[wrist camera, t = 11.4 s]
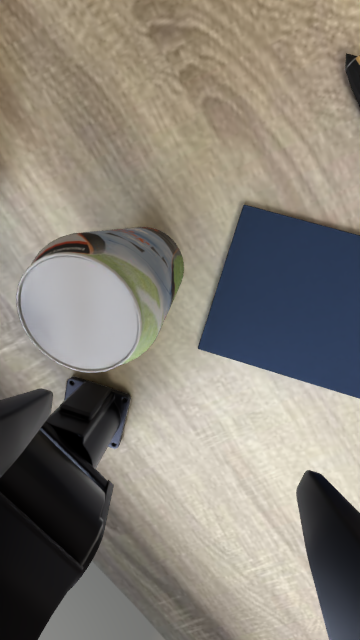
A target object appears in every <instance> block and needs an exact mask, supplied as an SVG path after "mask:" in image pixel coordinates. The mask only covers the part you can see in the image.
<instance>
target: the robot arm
mask: <svg viewBox="0 0 360 640" xmlns="http://www.w3.org/2000/svg"><path fill="white" fill-rule="evenodd" d="M72 381H73V382H74V383H73V382H72ZM124 398H126V399H127V400H124ZM52 399H53V393H52V392H51V391H49V390H46V389H37V390H33V391H30V392H27V393H23V394H20V395H16V396H13V397H10V398H6V399H3V400H0V640H38V638H39V636H40V635H41V633H42V631H43V629H44V628H45V626H46V624H47V623H48V621H49V619H50V617H51V616H52V614H53V613H54V611H55V610H56V608H57V607H58V605H59V604H60V602H61V601H62V599H63V598H64V596H65V595H66V593H67V592H68V591H69V590H70V589H71V588H72V587H73V586H74V585H75V584H76V582H77V581H78V580H79V578H80V577H81V576H82V575H83V573H84V572H85V570H86V569H87V568H88V566H89V564H90V563H91V561H92V559H93V557H94V556H95V554H96V552H97V550H98V548H99V545H100V543H101V540H102V537H103V534H104V530H105V525H106V520H107V515H108V510H109V506H110V501H111V496H112V491H113V486H114V485H113V484H112V483H111V482H110V481H109V480H108V481H107V480H106V479H105V478H104V477H103V476H102V475H101V474H100V473H99V472H98V471H97V470H96V467H97V465H98V463H99V462H100V460H101V458H102V456H103V454H104V453H105V451H106V449H107V447H111V448H114V449H115V448H118V446H119V444H120V441H121V437H122V433H123V429H124V425H125V421H126V417H127V413H128V409H129V405H130V401H131V397H130V395H129V394H126V393H123V392H120V391H117V390H114V389H111V388H109V387H106V386H103V385H100V384H97V383H94V382H90V381H86V380H83V379H80V378H77V377H71V378H70V379H68V381H67V386H66V392H65V399H64V402H63V403H62V404H61V405H60V407H58V408H57V409H56V410H55V411H54V412H53V413H52V414H51V415H50V413H51V408H52ZM49 415H50V416H49ZM115 443H116V444H115ZM296 495H297V502H298V507H299V513H300V519H301V524H302V530H303V536H304V541H305V547H306V552H307V556H308V560H309V564H310V568H311V572H312V576H313V580H314V583H315V587H316V591H317V595H318V599H319V603H320V606H321V610H322V614H323V618H324V622H325V625H326V629H327V633H328V637H329V640H360V513H359V512H358V511H357V510H356V509H355V508H354V507H353V506H352V505H351V504H350V503H349V502H348V501H347V500H346V499H345V498H344V497H343V496H342V495H341V494H340V493H339V492H338V491H337V490H336V489H335V488H334V487H333V486H332V485H331V484H330V483H329V482H328V481H327V480H326V478H325V477H324V476H322V475H321V474H320V473H317V472H313V471H310V470H307V471H306V472H305V473H304V475H303V477H302V479H301V481H300V483H299V485H298V487H297V492H296Z"/></svg>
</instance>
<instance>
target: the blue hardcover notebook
mask: <svg viewBox="0 0 360 640" xmlns="http://www.w3.org/2000/svg"><path fill="white" fill-rule="evenodd" d="M198 349H200V350H204V351H207V352H210V353H213V354H217V355H220V356H223V357H226V358H230V359H233V360H236V361H239V362H243V363H246V364H249V365H252V366H256V367H259V368H262V369H265V370H269V371H272V372H275V373H278V374H282V375H285V376H288V377H291V378H295V379H298V380H301V381H304V382H308V383H311V384H314V385H317V386H321V387H324V388H327V389H330V390H334V391H337V392H340V393H343V394H347V395H350V396H353V397H356V398H360V235H356V234H352V233H348V232H345V231H341V230H337V229H334V228H330V227H326V226H322V225H319V224H315V223H311V222H307V221H304V220H300V219H296V218H292V217H289V216H285V215H281V214H278V213H274V212H270V211H266V210H263V209H259V208H255V207H251V206H248V205H243V208H242V211H241V214H240V217H239V221H238V224H237V227H236V230H235V233H234V236H233V239H232V243H231V246H230V249H229V252H228V255H227V258H226V261H225V265H224V268H223V271H222V274H221V277H220V280H219V283H218V286H217V290H216V293H215V296H214V299H213V302H212V305H211V308H210V312H209V315H208V318H207V321H206V324H205V327H204V330H203V334H202V337H201V340H200V343H199V346H198Z"/></svg>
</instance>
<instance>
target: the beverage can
mask: <svg viewBox="0 0 360 640" xmlns="http://www.w3.org/2000/svg"><path fill="white" fill-rule="evenodd" d="M183 273H184V263H183V258H182V255H181V252H180V250H179V248H178V247H177V245H176V243H175V242H174V241H173V240H172V239H171V238H170V237H169V236H168V235H166V234H165V233H163V232H161V231H160V230H157V229H154V228H149V227H137V228H126V229H116V230H105V231H94V232H84V233H74V234H70V235H66V236H63V237H60V238H58V239H56V240H54V241H52V242H51V243H49V244H48V245H47V246H46V247H44V248H43V249H42V250H41V251H40V252H39V253H38V255H37V256H36V257H35V259H34V260H33V262H32V264H31V266H29V267H28V268H27V270H26V271H25V273H24V274H23V275H22V277H21V280H20V282H19V284H18V289H17V294H16V305H17V310H18V315H19V318H20V321H21V324H22V326H23V328H24V330H25V332H26V334H27V335H28V337H29V338H30V339H31V341H32V342H33V343H34V344H35V346H36V347H37V348H38V349H39V350H40V351H41V352H43V353H44V354H45V355H46V356H47V357H49V358H50V359H52V360H53V361H55V362H56V363H58V364H60V365H62V366H65V367H67V368H70V369H73V370H76V371H82V372H103V371H107V370H110V369H113V368H115V367H117V366H119V365H121V364H124V363H127V362H130V361H132V360H134V359H135V358H137V357H139V356H140V355H142V354H143V353H144V352H145V351H146V350H148V348H149V347H150V346H151V345H152V343H153V342H154V341H155V339H156V337H157V335H158V333H159V331H160V329H161V327H162V325H163V322H164V320H165V318H166V315H167V313H168V311H169V309H170V306H171V304H172V302H173V300H174V297H175V295H176V293H177V291H178V288H179V286H180V284H181V281H182V278H183Z"/></svg>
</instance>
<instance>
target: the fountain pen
mask: <svg viewBox="0 0 360 640" xmlns="http://www.w3.org/2000/svg"><path fill="white" fill-rule="evenodd" d="M345 70H346V73H347V76H348V79H349V82H350V85H351V88H352V91H353V93H354V95H355V97H356V100H357V102H358V104H359V106H360V56H354V55H350V54H347V53H346V67H345Z"/></svg>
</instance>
